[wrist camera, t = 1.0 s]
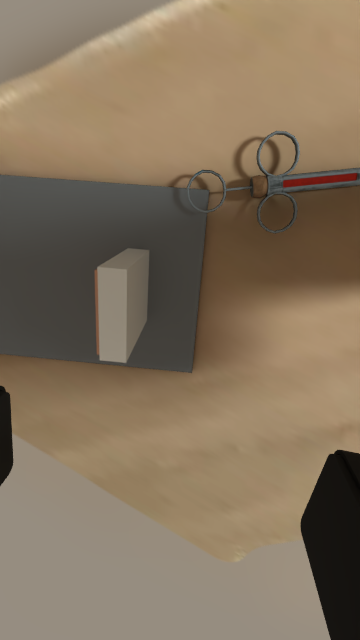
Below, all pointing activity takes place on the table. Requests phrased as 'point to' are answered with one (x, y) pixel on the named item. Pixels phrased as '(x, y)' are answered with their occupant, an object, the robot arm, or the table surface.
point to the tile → (121, 303)
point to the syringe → (287, 182)
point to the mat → (86, 255)
